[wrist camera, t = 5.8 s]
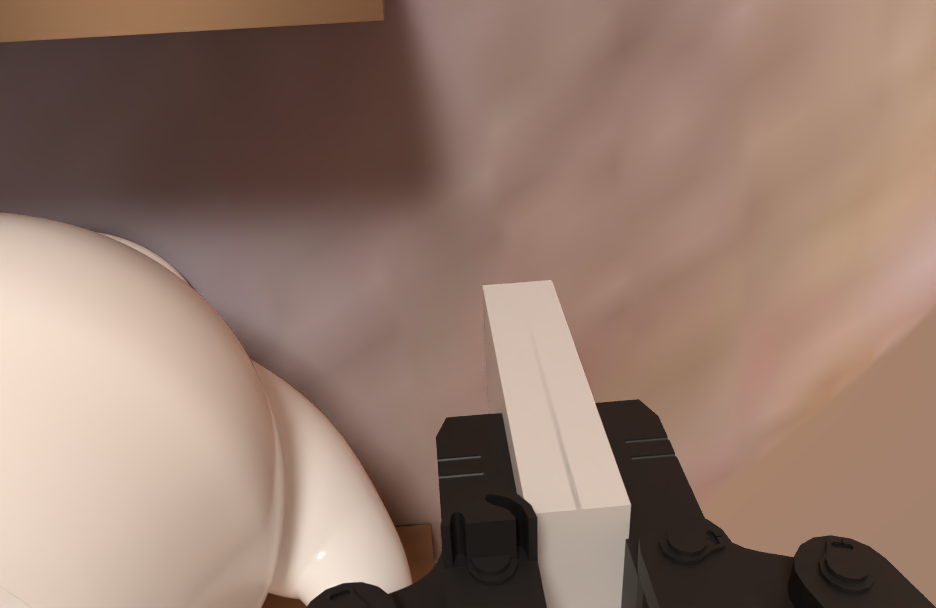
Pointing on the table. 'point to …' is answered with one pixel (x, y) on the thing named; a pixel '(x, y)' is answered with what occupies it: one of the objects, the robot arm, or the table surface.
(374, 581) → the teapot
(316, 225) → the table surface
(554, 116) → the table surface
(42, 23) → the bay
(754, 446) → the table surface
